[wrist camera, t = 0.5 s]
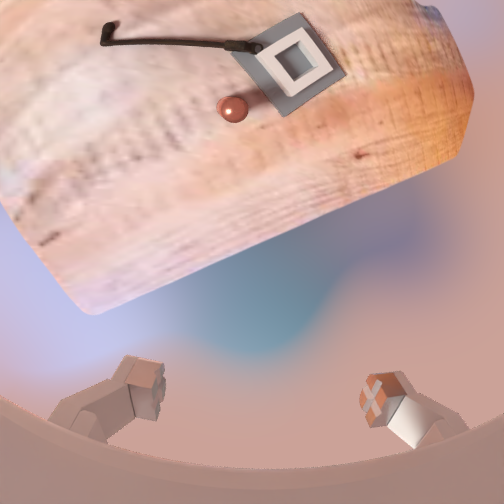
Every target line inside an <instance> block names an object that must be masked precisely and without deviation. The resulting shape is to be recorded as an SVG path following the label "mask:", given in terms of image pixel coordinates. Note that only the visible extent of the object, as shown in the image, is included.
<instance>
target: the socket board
mask: <svg viewBox="0 0 504 504" xmlns="http://www.w3.org/2000/svg"><path fill="white" fill-rule="evenodd" d="M251 42H256V43H260V44H262V45H263V51H261V52H260V50H261V47H260V46H259V45H257V46H256V47H255V52H257V53H258V54H257V55H253V54H250V53H247V52H237V51H233V52H232V53H231V55H232V56H233V57H234V59H235V60H236V61H237V62H238V63H239V64H240V65H241V66H242V68H243V69H244V70H245V71H246V72H247V73H248V75H249V76H250V77H251V78H252V79H253V81H254V82H255V83H256V84H257V85H258V87H259V88H260V89H261V90H262V91H263V93H264V94H265V95H266V96H267V98H268V99H269V100H270V101H271V103H272V104H273V105H274V107H275V108H276V109H277V110H278V112H279V113H280V114H281V116H282V117H285V116H287V115H288V114H289V113H291V112H292V111H294V110H295V109H296V108H298V107H299V106H301V105H302V104H303V103H305V102H306V101H308V100H309V99H311V98H312V97H314V96H315V95H317V94H318V93H320V92H321V91H323V90H324V89H326V88H327V87H329V86H330V85H332V84H333V83H335V82H336V81H338V80H339V79H341V78H343V77H344V76H345V74H344V73H343V71H342V70H341V68H340V66H339V65H338V63H337V62H336V61H335V59H334V58H333V56H332V55H331V53H330V52H329V50H328V49H327V48H326V46H325V45H324V44H323V42H322V41H321V39H320V38H319V37H318V35H317V34H316V33H315V32H314V30H313V29H312V28H311V26H310V25H309V24H308V23H307V21H306V20H305V19H304V18H303V17H302V15H301V14H300V13H297V14H295V15H293V16H291V17H289V18H287V19H285V20H283V21H282V22H280V23H278V24H276V25H275V26H273V27H271V28H269V29H268V30H266V31H264V32H263V33H261V34H259V35H258V36H256V37H254V38H253V39H251V40H250V41H248V43H251Z"/></svg>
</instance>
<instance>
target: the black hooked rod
mask: <svg viewBox="0 0 504 504" xmlns="http://www.w3.org/2000/svg"><path fill="white" fill-rule="evenodd" d="M114 28H115V25H114V23H112V22H108V23H106V24H105V25H104V26H103V29H102V35H101V41H100V45H101V46H113V45H136V44H141V45H142V44H158V45H184V46H200V47H214V48H224V50H227V51H237V52H247V53H250V54H253V55H257V54H258V53H257V52H255V47H256V46H257V45H259V46H260V47H261V50H260V52H261V51H263V45H262V44H260V43H256V42H251V43H248V42H246V41H225V42H224V43H221V42H209V41H192V40H167V39H141V40H119V41H110V40H109V37H110V33H111V32H112V31H113V30H114Z"/></svg>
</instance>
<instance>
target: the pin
mask: <svg viewBox="0 0 504 504" xmlns="http://www.w3.org/2000/svg"><path fill="white" fill-rule="evenodd" d="M217 112H218V113H219V114H220V115H221V116H222V117H223V118H224V119H225V120H227V121H229V122H232V123H237V122H240V121H242V120H244V119H245V118H246V116H247V114H248V105H247V103H246V102H245V101H244V100H243V99H241V98H239V97H224V98H222V99H220V100H219V102H218V103H217Z"/></svg>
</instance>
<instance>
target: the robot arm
mask: <svg viewBox="0 0 504 504" xmlns="http://www.w3.org/2000/svg"><path fill="white" fill-rule="evenodd" d="M164 371H165V368H164V363H163V362H159V361H154V360H149V359H145V358H140V357H135V356H131V355H126V356H124V358H123V360H122V361H121V363H120V365H119V366H118V368H117V370H116V371H115V373H114V375H113V377H112V378H111V380H109V379H106V380H104V381H102V382H100V383H98V384H96V385H94V386H91V387H89V388H87V389H85V390H83V391H80V392H78V393H76V394H74V395H71V396H69V397H67V398H65V399H62V400H61V401H60V402H59V404H58V405H57V407H56V408H55V410H54V411H53V413H52V414H51V416H50V417H49V419H48V420H45V419H43V418H41V417H39V416H37V415H35V414H33V413H31V412H29V411H27V410H25V409H23V408H22V407H20V406H18V405H16V404H14V403H13V402H11V401H9V400H7V399H6V398H4V397H2V396H1V395H0V504H504V413H503V414H501V415H500V416H498V417H496V418H494V419H492V420H490V421H488V422H485V423H483V424H481V425H479V426H477V427H474V428H472V429H469V428H468V426H467V425H466V423H465V422H464V420H463V419H462V418H461V416H460V415H459V413H457V412H455V411H453V410H451V409H449V408H447V407H445V406H443V405H441V404H440V403H438V402H436V401H434V400H432V399H430V398H428V397H427V396H424V395H423V394H421V393H417V392H416V391H415V389H414V388H413V386H412V385H411V383H410V382H409V381H408V379H407V378H406V376H405V375H404V373H403V372H401V371H395V372H389V373H376V374H370V375H369V376H368V378H367V380H366V382H367V386H365V387H364V388H363V389H362V391H361V394H360V406H361V408H362V410H363V411H365V412H366V413H367V414H366V416H365V417H366V420H367V422H368V424H369V427H370V428H372V427H380V426H387V427H388V428H389V429H391V430H392V431H393V432H394V433H395V434H397V435H398V436H399V437H400V438H402V439H403V440H404V441H405V442H406V443H408V444H409V445H410V446H411V447H413V448H414V449H413V450H409V451H406V452H402V453H398V454H394V455H390V456H385V457H381V458H376V459H371V460H365V461H360V462H354V463H348V464H340V465H332V466H322V467H311V468H294V469H247V468H229V467H218V466H209V465H200V464H192V463H186V462H180V461H174V460H169V459H164V458H159V457H154V456H149V455H145V454H141V453H137V452H133V451H130V450H126V449H122V448H119V447H116V446H112V445H109V444H108V443H107V439H108V438H110V437H111V436H112V435H114V434H115V433H116V432H118V431H119V430H120V429H122V428H123V427H124V426H126V425H127V424H128V423H130V422H131V421H132V420H134V419H135V417H137V418H142V419H147V420H152V421H157V418H158V415H159V412H160V403H161V402H162V401H163V399H164V396H165V390H166V379H165V378H164V377H163V374H164Z"/></svg>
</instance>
